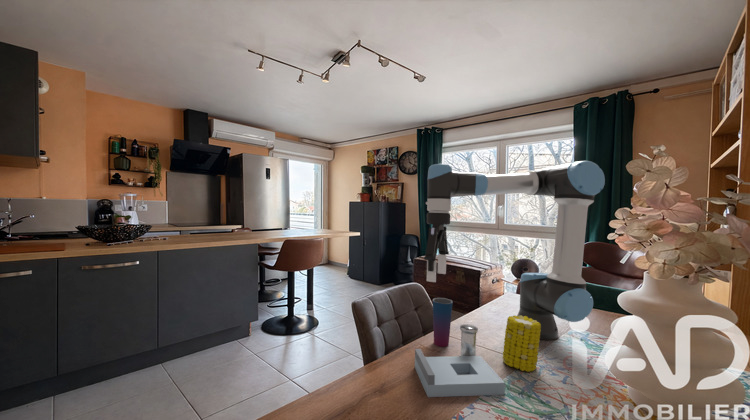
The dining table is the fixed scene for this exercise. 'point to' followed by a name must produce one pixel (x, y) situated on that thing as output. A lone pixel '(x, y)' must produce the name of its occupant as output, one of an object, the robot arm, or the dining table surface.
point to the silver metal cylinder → (468, 340)
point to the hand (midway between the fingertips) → (436, 277)
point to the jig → (457, 376)
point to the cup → (442, 321)
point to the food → (521, 343)
